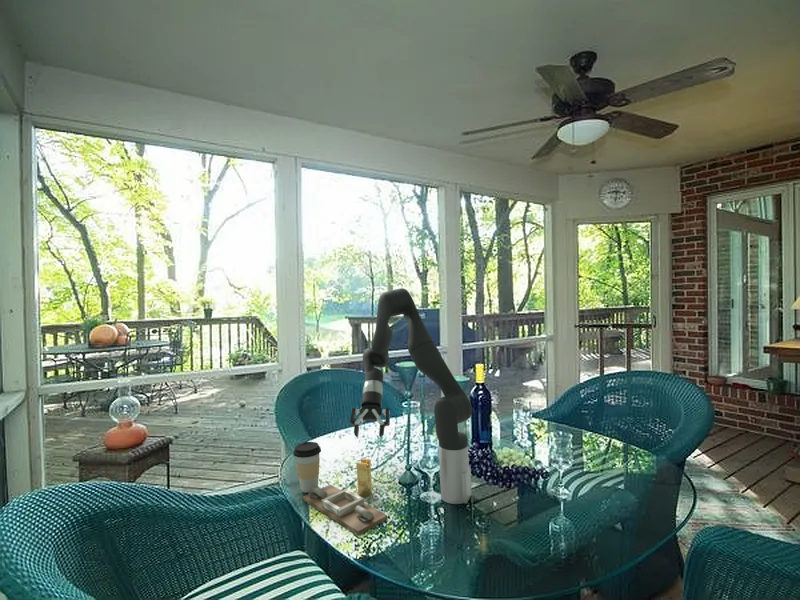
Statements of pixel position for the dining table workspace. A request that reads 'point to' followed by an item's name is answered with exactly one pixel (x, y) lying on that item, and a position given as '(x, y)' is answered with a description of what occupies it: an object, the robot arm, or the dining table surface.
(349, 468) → the dining table surface
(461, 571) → the dining table surface
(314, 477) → the coffee cup
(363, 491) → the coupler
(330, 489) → the clamping jig board
